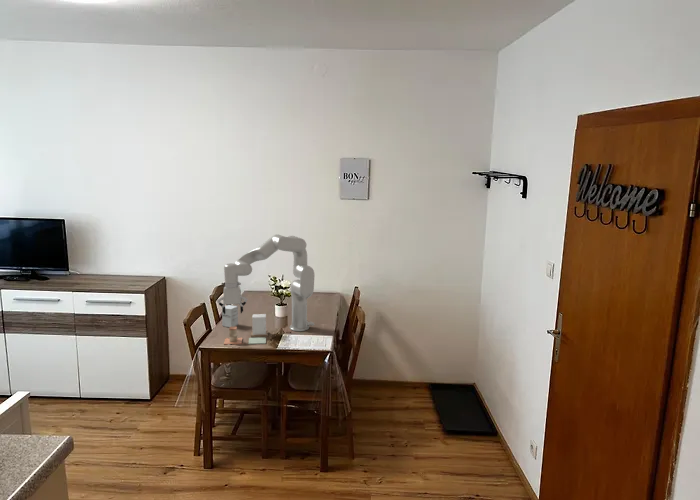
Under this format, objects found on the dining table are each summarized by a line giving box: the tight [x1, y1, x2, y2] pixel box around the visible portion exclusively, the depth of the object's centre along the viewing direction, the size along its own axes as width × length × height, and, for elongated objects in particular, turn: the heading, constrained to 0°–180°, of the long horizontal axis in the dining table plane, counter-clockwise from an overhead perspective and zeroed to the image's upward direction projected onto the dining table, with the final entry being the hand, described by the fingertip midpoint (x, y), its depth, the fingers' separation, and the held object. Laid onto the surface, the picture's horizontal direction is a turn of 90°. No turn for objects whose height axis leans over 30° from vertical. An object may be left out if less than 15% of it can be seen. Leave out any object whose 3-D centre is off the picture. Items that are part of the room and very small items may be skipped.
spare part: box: [228, 326, 238, 342], centre depth 296 cm, size 4×4×8 cm
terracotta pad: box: [223, 337, 243, 346], centre depth 297 cm, size 10×9×1 cm
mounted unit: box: [250, 313, 269, 338], centre depth 308 cm, size 10×8×12 cm
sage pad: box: [248, 337, 267, 345], centre depth 298 cm, size 10×9×1 cm
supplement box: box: [221, 304, 239, 328], centre depth 323 cm, size 7×7×13 cm
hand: (233, 313), depth 294 cm, fingers open, 9 cm apart
